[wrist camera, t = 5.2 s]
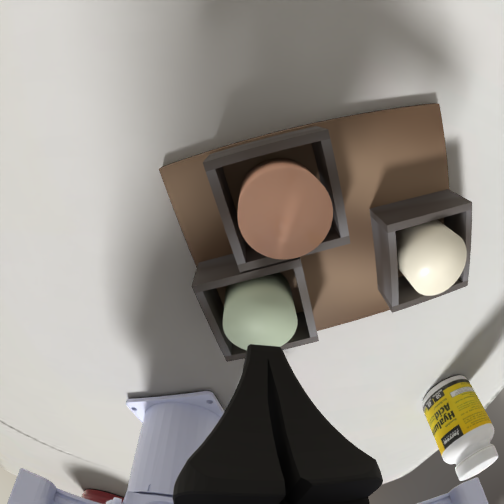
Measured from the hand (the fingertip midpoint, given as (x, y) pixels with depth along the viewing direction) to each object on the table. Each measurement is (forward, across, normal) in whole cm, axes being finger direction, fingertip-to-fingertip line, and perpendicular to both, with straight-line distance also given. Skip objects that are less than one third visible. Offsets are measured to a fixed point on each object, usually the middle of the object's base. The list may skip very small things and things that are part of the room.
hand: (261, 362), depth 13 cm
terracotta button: (+4, 0, -6) cm, 7 cm away
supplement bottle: (+6, -20, +10) cm, 24 cm away
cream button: (+5, -9, -4) cm, 11 cm away
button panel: (+6, -4, -4) cm, 8 cm away
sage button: (+5, 0, 0) cm, 5 cm away
